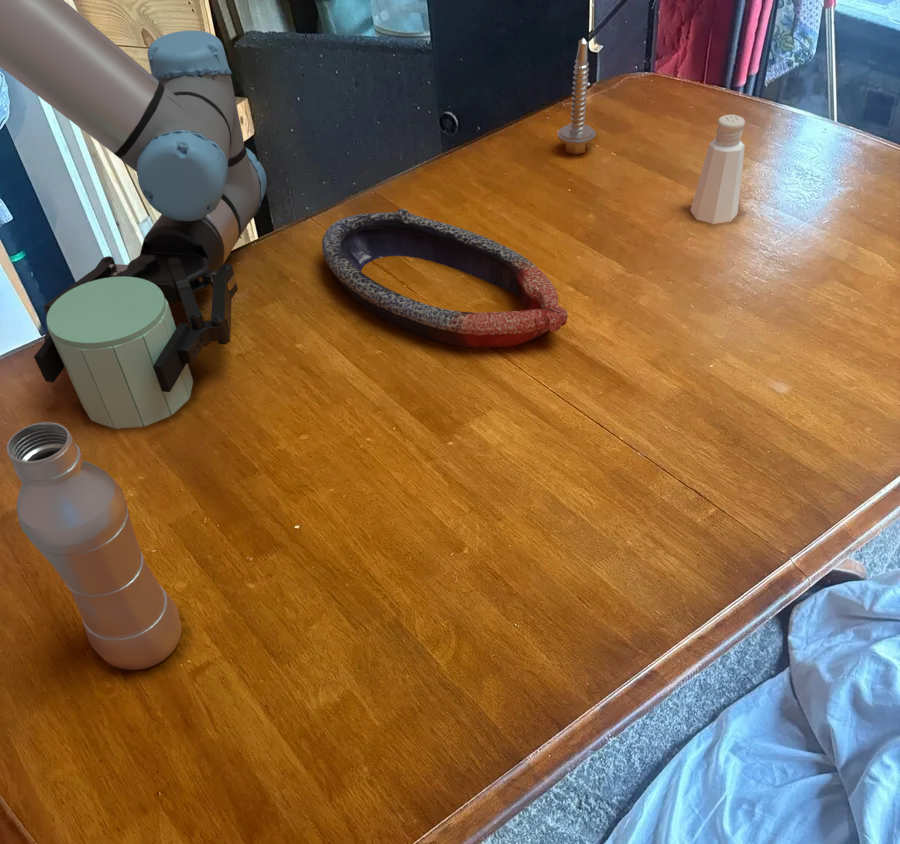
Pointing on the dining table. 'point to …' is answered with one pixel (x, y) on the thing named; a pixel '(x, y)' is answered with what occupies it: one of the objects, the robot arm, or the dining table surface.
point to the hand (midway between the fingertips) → (101, 374)
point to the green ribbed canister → (117, 350)
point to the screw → (578, 107)
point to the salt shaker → (721, 174)
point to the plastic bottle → (92, 547)
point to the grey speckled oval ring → (452, 247)
